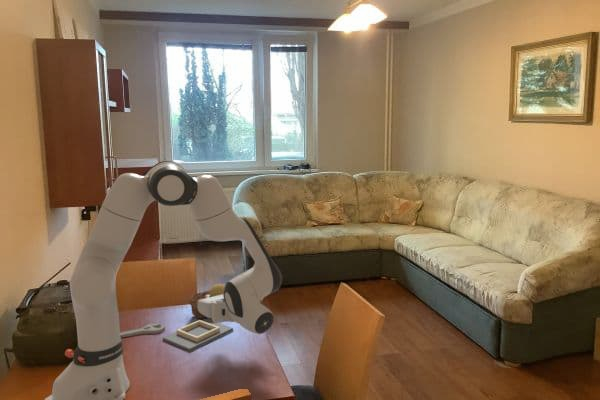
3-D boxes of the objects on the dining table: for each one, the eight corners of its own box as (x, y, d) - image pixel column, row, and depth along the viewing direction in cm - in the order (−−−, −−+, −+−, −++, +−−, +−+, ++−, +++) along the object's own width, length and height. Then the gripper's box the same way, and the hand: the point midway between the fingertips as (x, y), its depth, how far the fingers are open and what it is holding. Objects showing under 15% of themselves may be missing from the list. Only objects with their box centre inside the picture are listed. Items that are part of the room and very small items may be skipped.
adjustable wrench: (89, 345, 175) (89, 340, 174) (90, 337, 180) (89, 332, 180) (165, 333, 183) (165, 328, 183) (163, 325, 189) (163, 321, 189)
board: (189, 351, 168) (189, 344, 168) (162, 340, 177) (162, 333, 176) (233, 330, 184) (232, 324, 184) (206, 320, 192) (206, 314, 192)
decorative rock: (221, 307, 205) (220, 283, 203) (226, 318, 195) (225, 293, 193) (188, 311, 201) (187, 287, 199) (191, 323, 191) (190, 297, 189)
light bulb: (227, 316, 171) (226, 287, 170) (208, 316, 171) (207, 287, 170) (230, 309, 178) (229, 281, 176) (211, 308, 178) (211, 281, 176)
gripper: (265, 290, 169) (243, 279, 180) (209, 304, 157) (189, 291, 168) (265, 309, 170) (244, 296, 181) (209, 323, 158) (190, 310, 169)
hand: (217, 294), depth 174 cm, fingers closed on light bulb, 6 cm apart
